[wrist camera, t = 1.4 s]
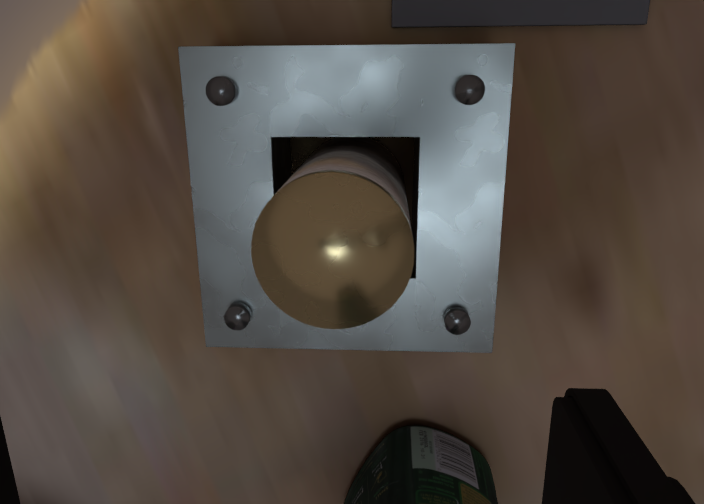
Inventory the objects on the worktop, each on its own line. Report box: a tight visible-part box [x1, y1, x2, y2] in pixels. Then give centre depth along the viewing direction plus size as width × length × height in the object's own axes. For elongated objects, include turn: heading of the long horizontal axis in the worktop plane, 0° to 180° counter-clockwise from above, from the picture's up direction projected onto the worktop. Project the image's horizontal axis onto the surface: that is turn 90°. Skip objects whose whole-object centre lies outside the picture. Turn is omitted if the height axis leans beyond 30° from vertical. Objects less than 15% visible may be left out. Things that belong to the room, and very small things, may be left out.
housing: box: [178, 43, 515, 353], centre depth 28 cm, size 14×14×6 cm
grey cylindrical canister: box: [251, 137, 414, 329], centre depth 25 cm, size 6×6×12 cm
